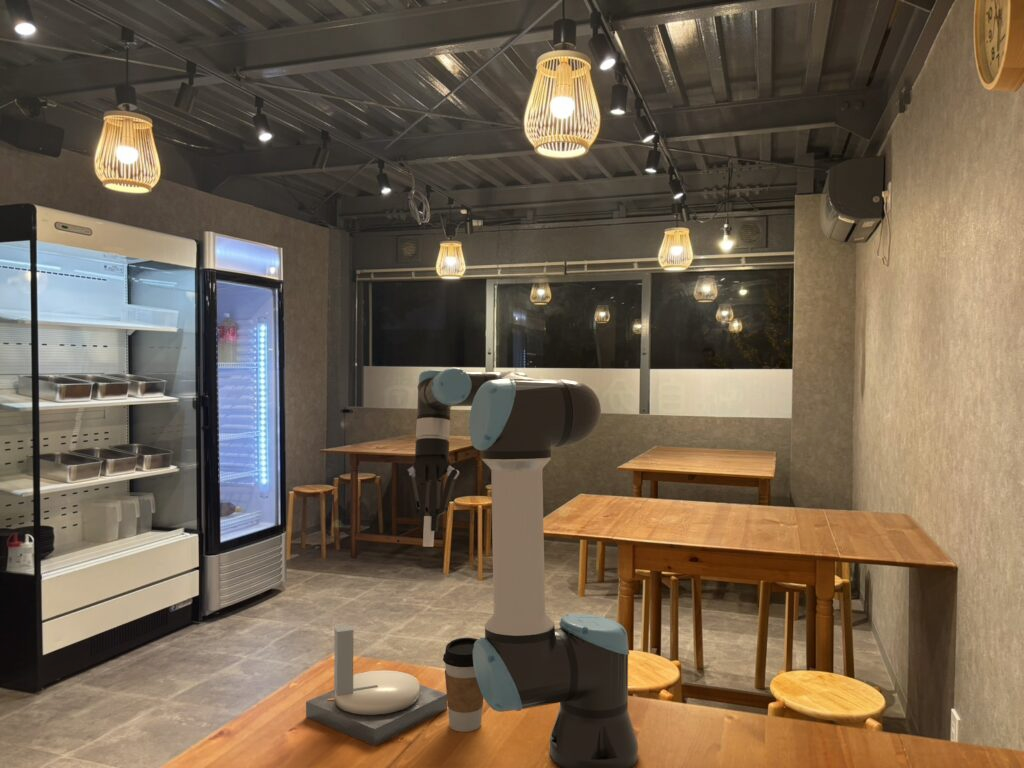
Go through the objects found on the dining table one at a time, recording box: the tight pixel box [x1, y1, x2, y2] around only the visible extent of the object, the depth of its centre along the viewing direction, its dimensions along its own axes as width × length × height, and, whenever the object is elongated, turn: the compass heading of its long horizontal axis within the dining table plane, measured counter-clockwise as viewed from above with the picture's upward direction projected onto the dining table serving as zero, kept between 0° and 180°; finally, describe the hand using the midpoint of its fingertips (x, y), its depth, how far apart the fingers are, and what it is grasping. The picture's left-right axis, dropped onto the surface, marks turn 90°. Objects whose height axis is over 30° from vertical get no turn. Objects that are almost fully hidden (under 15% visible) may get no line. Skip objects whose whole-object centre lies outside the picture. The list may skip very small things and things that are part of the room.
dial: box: [333, 624, 420, 715], centre depth 147 cm, size 16×16×14 cm
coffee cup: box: [442, 637, 484, 733], centre depth 142 cm, size 8×8×15 cm
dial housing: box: [305, 684, 448, 747], centre depth 147 cm, size 19×19×3 cm
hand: (428, 546), depth 166 cm, fingers closed
